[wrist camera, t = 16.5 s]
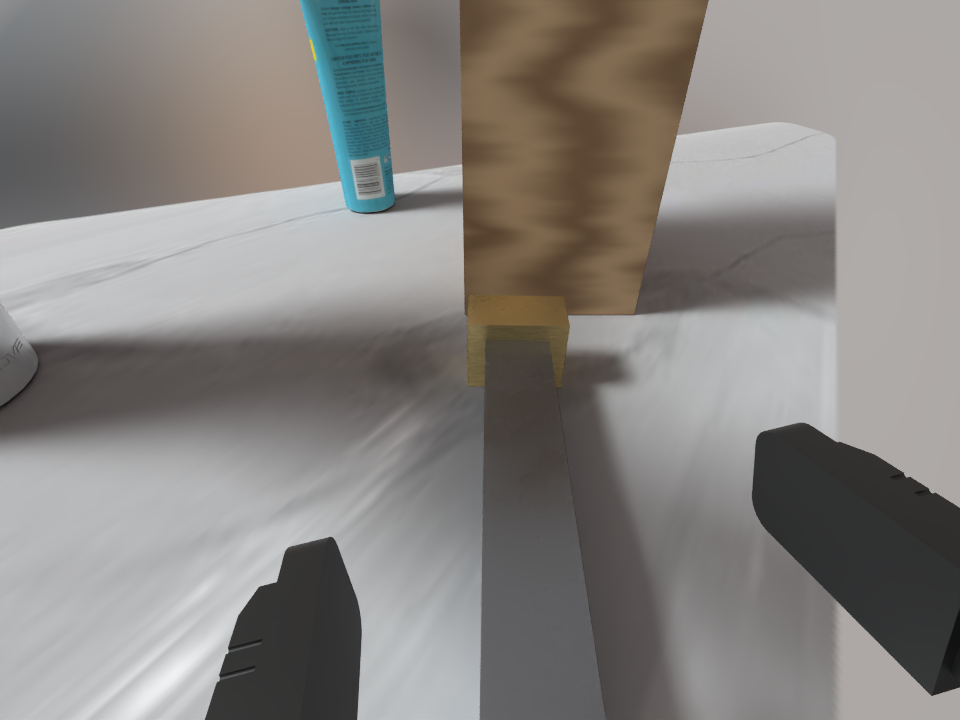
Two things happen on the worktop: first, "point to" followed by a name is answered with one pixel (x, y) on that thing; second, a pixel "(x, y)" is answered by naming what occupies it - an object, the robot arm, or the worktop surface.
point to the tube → (354, 96)
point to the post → (569, 142)
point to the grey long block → (529, 520)
